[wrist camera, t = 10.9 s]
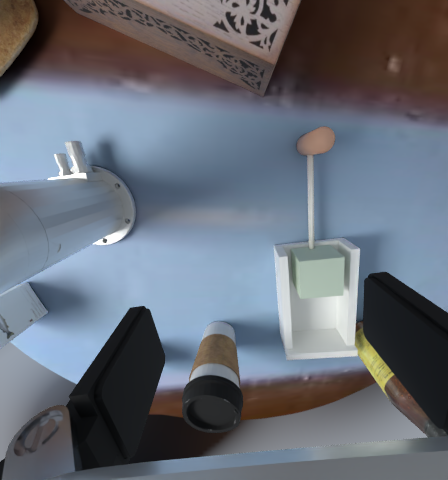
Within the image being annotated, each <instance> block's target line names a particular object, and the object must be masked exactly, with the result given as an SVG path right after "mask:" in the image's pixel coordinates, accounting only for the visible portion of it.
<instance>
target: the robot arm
mask: <svg viewBox="0 0 448 480" xmlns="http://www.w3.org/2000/svg"><path fill="white" fill-rule="evenodd" d="M65 145H66V148H67V151H68V154H69V157H71V160H72V163H73V166H74V167H71V170H70V168H69V165H68V160H67V157H66V154H54V157H55V160H56V162H57V164H58V166H59V169H60V172H59V173H58V174H59V176H60V177H54V178H49V179H47V180H33V181H19V182H5V183H0V294H2V293H3V292H5V291H7V290H9V289H11V288H12V287H14V286H16V285H18V284H20V283H21V282H23V281H25V280H27V279H29V278H31V277H32V276H34V275H36V274H38V273H40V272H41V271H43V270H45V269H47V268H49V267H51V266H53V265H54V264H56V263H58V262H60V261H62V260H64V259H66V258H67V257H69V256H71V255H73V254H75V253H77V252H79V251H80V250H82V249H84V248H86V247H88V246H90V245H92V244H96V245H109V244H113V243H116V242H118V241H120V240H121V239H123V238H124V237H125V236H126V235H128V233H129V232H130V231H131V229H132V227H133V225H134V222H135V218H136V207H135V202H134V199H133V196H132V194H131V192H130V190H129V188H128V187H127V186H126V184H125V183H124V182H123V181H122V180H121V179H120V178H119V177H118V176H117V175H115V174H114V173H112V172H111V171H109V170H106V169H104V168H102V167H97V166H91V165H87V161H86V158H85V153H84V150H83V147H82V143H81V141H69V142H65ZM119 184H120V186H119ZM129 220H130V221H129ZM363 333H364V336H365V338H366V340H367V341H368V342H369V343H370V345H371V346H372V347H373V348H374V350H375V351H376V352H377V353H378V355H379V356H380V357H381V358H382V360H383V361H384V362H385V363H386V365H387V366H388V367H389V368H390V370H391V371H392V372H393V374H394V375H395V376H396V377H397V379H398V380H399V381H400V382H401V384H402V385H403V386H404V387H405V389H406V390H407V391H408V392H409V394H410V395H411V396H412V397H413V399H414V400H415V401H416V402H417V404H418V405H419V406H420V407H421V409H422V410H423V411H424V412H425V414H426V415H427V416H428V418H429V419H430V420H431V421H432V423H433V424H434V425H435V426H436V427H438V428H439V429H443V430H444V431H445V432H446V434H447V435H448V313H447V312H446V311H444V310H443V309H441V308H440V307H438V306H437V305H435V304H434V303H432V302H431V301H429V300H428V299H426V298H425V297H423V296H422V295H420V294H419V293H417V292H416V291H414V290H413V289H411V288H410V287H408V286H407V285H405V284H404V283H402V282H401V281H399V280H398V279H396V278H395V277H393V276H392V275H390V274H389V273H387V272H380V273H372V274H369V276H368V278H366V279H365V281H364V310H363ZM164 364H165V354H164V351H163V348H162V345H161V342H160V339H159V336H158V333H157V330H156V327H155V324H154V321H153V318H152V315H151V312H150V310H149V309H146V308H145V306H140V307H133V308H130V309H129V310H128V312H127V313H126V315H125V316H124V317H123V319H122V320H121V322H120V323H119V325H118V326H117V328H116V329H115V330H114V332H113V333H112V335H111V336H110V338H109V339H108V341H107V342H106V343H105V345H104V346H103V348H102V349H101V351H100V352H99V354H98V355H97V356H96V358H95V359H94V361H93V362H92V364H91V365H90V367H89V368H88V369H87V371H86V372H85V374H84V375H83V377H82V378H81V380H80V381H79V382H78V384H77V385H76V387H75V388H74V390H73V391H72V393H71V394H70V395H69V398H70V401H69V402H68V404H67V405H66V406H64V405H56V406H53V407H49V408H47V409H45V410H43V411H42V412H40V413H38V414H37V415H36V416H34V417H33V418H31V419H30V420H29V421H28V422H27V423H26V424H25V425H24V426H23V427H22V428H21V429H20V430H19V431H18V432H17V434H16V435H15V436H14V438H13V439H12V441H11V443H10V444H9V446H8V450H7V452H6V457H5V459H3V460H2V461H1V462H0V480H448V436H442V437H429V438H417V439H404V440H392V441H379V442H368V443H355V444H343V445H331V446H320V447H308V448H297V449H285V450H274V451H262V452H251V453H239V454H229V455H219V456H207V457H196V458H187V459H176V460H165V461H154V462H144V463H135V464H128V463H129V460H130V457H133V456H134V455H135V453H136V451H137V448H138V444H139V442H140V438H141V435H142V432H143V429H144V426H145V423H146V420H147V417H148V414H149V411H150V407H151V404H152V401H153V398H154V395H155V392H156V389H157V386H158V383H159V380H160V376H161V373H162V370H163V367H164Z"/></svg>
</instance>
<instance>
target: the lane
mask: <svg viewBox="0 0 448 480" xmlns="http://www.w3.org/2000/svg"><path fill="white" fill-rule="evenodd" d="M321 245H331V246H332V247H333V248H335V249H336V250H337V251H338V252H339V253H340V254H342V255H343V256H344V257H345V265H344V293H343V296H331V297H319V298H308V299H300V297H299V295H298V293H297V290H296V288H295V286H294V284H293V282H292V261H291V249H293V248H302V247H309V241H307V242H298V243H289V244H280V245H274V256H275V269H276V283H277V296H278V310H279V324H280V335H281V339H282V343H283V346H284V350H285V354H286V358H287V360H298V359H316V358H333V357H350V356H357V354H358V350H357V348H356V347H355V329H356V311H357V294H358V277H359V259H360V248H358V247H357V246H355V245H354V244H352V243H351V242H349V241H348V240H346V239H345V238H335V239H325V240H316V241H314V246H321Z"/></svg>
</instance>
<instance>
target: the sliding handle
mask: <svg viewBox="0 0 448 480" xmlns="http://www.w3.org/2000/svg"><path fill="white" fill-rule="evenodd" d="M334 142H335V134H334V132H333V130H332V129H330V128H329V127H320V128H317V129H315V130H313V131H311V132H309V133H307V134H305V135H303V136H301V137H300V138H299V139H298V141H297V145H296V147H297V151H298V152H299V153H300V154H301V155H304V156H307V178H308V228H309V247H302V248H293V249H291V261H292V282H293V284H294V286H295V288H296V290H297V293H298V295H299V297H300V299H308V298H319V297H331V296H343V293H344V265H345V257H344V256H343V255H342V254H340V253H339V252H338V251H337V250H336V249H335V248H333V247H332V246H331V245H321V246H314V165H313V155H314V154H321V153H325V152H327V151H329V150H330V149H331V148H332V146H333V145H334Z"/></svg>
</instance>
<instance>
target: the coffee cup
mask: <svg viewBox="0 0 448 480" xmlns="http://www.w3.org/2000/svg"><path fill="white" fill-rule="evenodd" d="M239 387H240V376H239V367H238V358H237V349H236V340H235V332H234V329H233V328H232V326H230V325H229V324H228V323H226V322H222V321H216V322H212V323H210V324H209V325H208V326H207V327H206V329H205V332H204V335H203V338H202V342H201V344H200V347H199V350H198V353H197V356H196V359H195V362H194V365H193V368H192V371H191V374H190V377H189V383H188V384H187V385H186V387H185V388H184V392H183V397H182V402H183V408H182V414H183V417H184V419H185V421H186V422H187V423H188V424H189V425H190V426H192V427H193V428H195V429H197V430H200V431H204V432H210V433H219V432H226V431H230V430H232V429H234V428H236V427H237V426H238V425H239V423H240V419H241V410H242V407H243V395H242V392H241V390H240V388H239Z"/></svg>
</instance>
